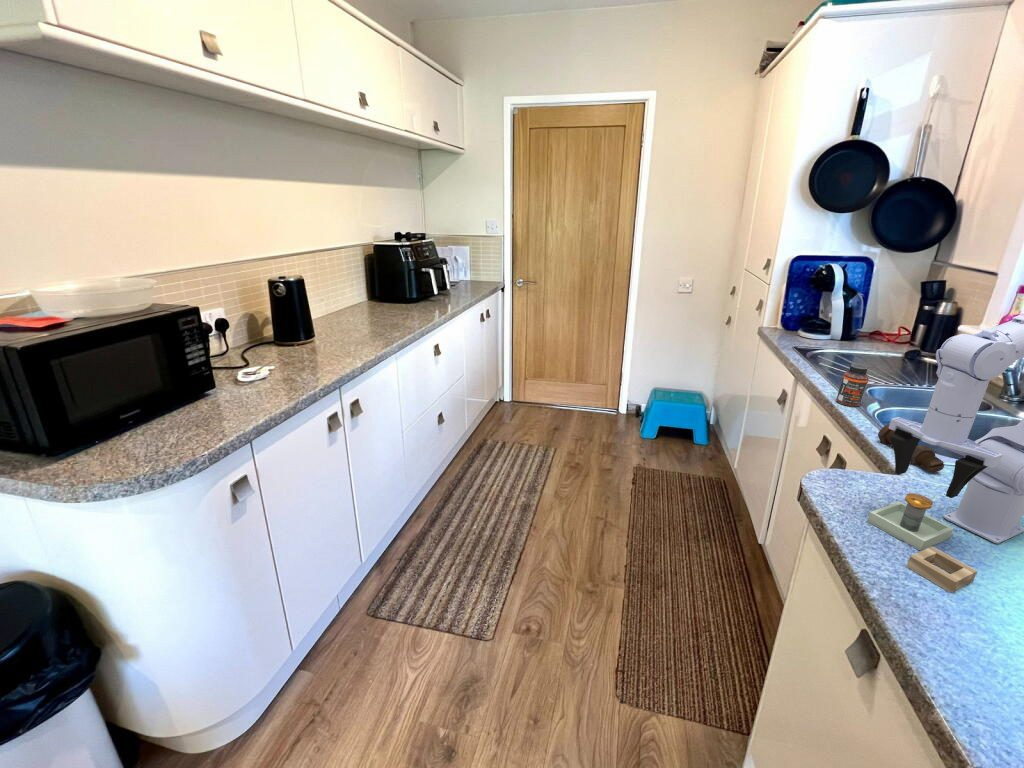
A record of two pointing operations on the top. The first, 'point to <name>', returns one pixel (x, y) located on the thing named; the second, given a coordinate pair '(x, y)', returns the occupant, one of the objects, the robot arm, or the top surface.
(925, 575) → the collar block
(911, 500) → the pin
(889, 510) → the parts tray
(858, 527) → the top surface
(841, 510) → the top surface
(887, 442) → the bolt
